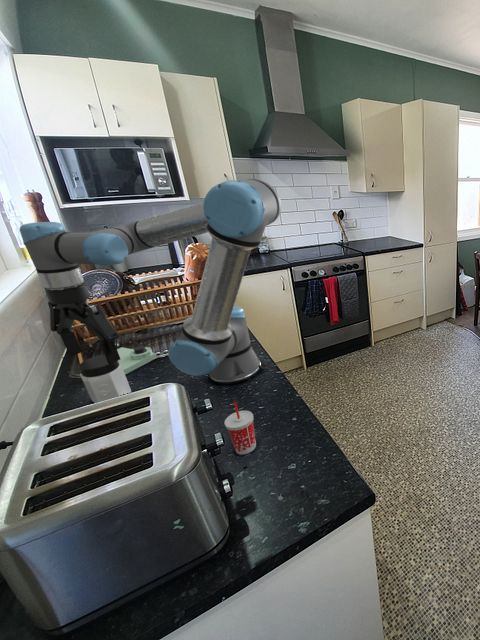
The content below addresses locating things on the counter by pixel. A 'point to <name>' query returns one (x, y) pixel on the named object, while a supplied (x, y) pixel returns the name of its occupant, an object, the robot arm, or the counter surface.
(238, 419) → the beverage cup
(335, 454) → the counter surface
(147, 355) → the scale
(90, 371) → the jar
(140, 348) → the tare button
